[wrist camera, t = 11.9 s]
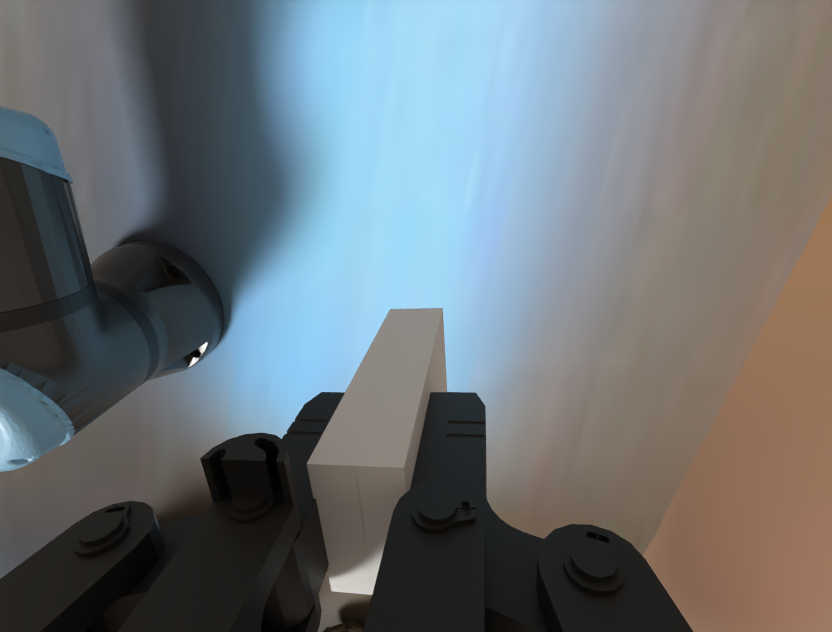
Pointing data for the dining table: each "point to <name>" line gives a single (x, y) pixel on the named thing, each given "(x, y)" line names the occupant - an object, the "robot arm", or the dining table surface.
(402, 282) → the dining table surface
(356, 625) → the hollow geode rock
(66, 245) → the robot arm
